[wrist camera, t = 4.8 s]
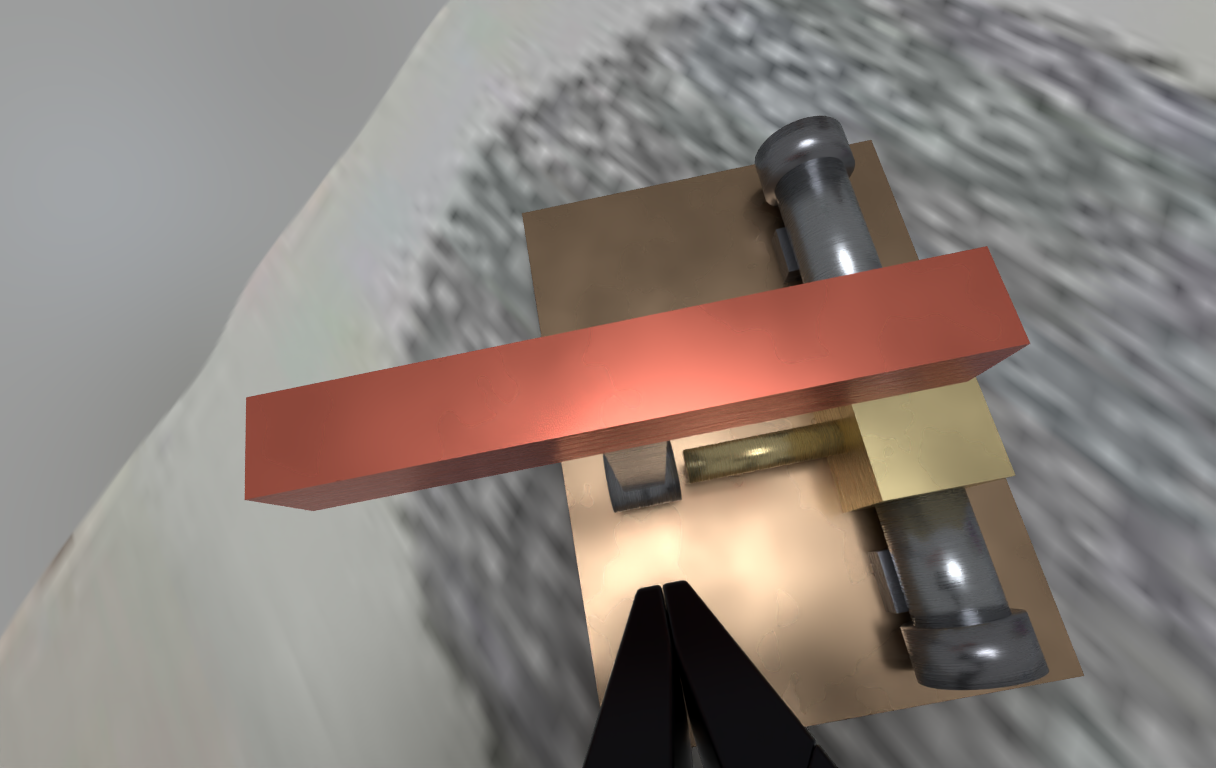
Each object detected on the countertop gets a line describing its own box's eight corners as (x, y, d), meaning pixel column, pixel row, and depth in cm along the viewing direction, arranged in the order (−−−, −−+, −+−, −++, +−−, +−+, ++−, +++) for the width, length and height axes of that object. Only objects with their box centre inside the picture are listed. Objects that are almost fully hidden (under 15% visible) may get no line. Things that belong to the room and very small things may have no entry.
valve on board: (1060, 669, 20) (1188, 702, 15) (611, 751, 21) (595, 809, 16) (862, 157, 27) (906, 66, 22) (527, 228, 28) (498, 154, 23)
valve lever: (824, 475, 21) (1035, 354, 9) (476, 542, 22) (244, 512, 10) (806, 417, 22) (982, 236, 10) (469, 484, 22) (245, 386, 10)
